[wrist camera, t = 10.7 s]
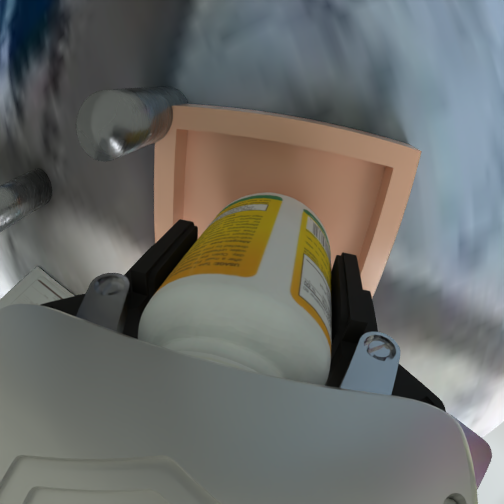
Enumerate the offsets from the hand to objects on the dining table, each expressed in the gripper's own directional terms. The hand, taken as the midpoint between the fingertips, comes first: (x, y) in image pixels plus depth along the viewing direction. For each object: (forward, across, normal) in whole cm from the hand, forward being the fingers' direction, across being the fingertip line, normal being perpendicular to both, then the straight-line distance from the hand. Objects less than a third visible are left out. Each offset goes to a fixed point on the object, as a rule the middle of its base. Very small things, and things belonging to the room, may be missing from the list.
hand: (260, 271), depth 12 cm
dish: (+4, 0, 0) cm, 4 cm away
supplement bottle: (+2, 0, 0) cm, 2 cm away
